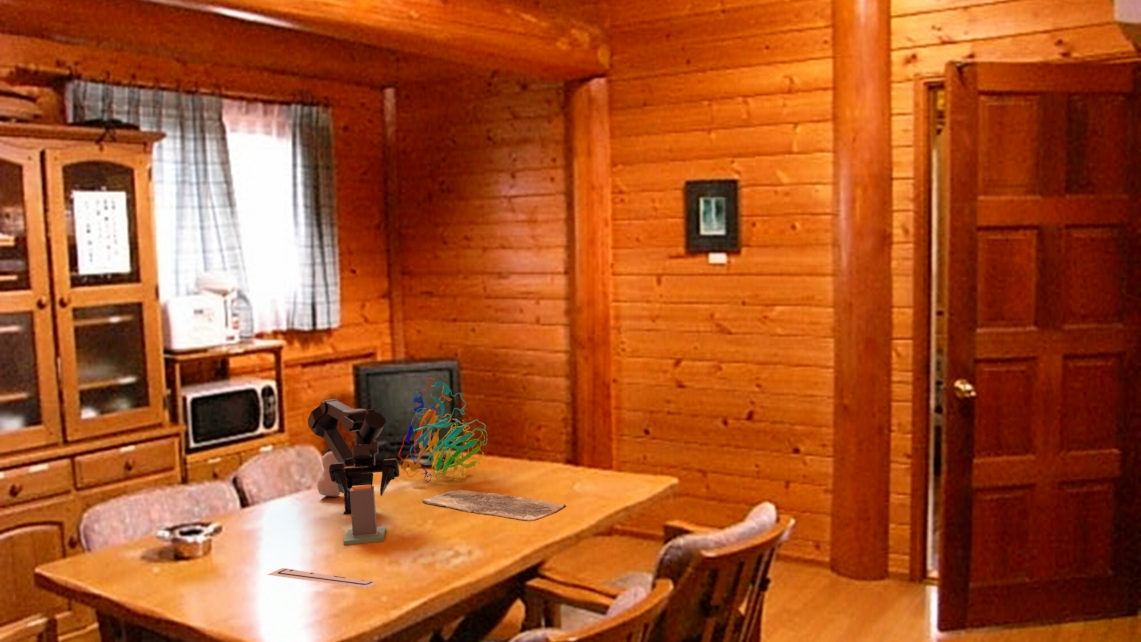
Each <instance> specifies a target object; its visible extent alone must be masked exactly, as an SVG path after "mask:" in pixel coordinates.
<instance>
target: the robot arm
mask: <svg viewBox="0 0 1141 642" xmlns="http://www.w3.org/2000/svg"><path fill="white" fill-rule="evenodd" d="M339 422H341V423H342V428H343V429H344V430H346V432H348V433H350V432H355V433H354V445H352V449H351V448H350V446H349V445H348V443H347V442H346V440H345V439H344V437H343V435H342V433H341V431H339V428H338V425H339ZM385 425H386V418H385V416H383V415H382V413H379V412H376V411H375V408H370V409H366V408H352V407H350V406H349V405H347V404H346V403H345V404H344V403H343V402H340V400H339V399H337V398H333V399H326V400H325V399H324V400H323V401H321V402H320V404H319V406H317V407H316V408H315V409H313V410H312V411H311V412H310V414H309V416H308V417H307V426H308V428H309V429H310V430H311V431H312V432H313V434H314V435H315V436H316V437H317V436H318V437H320V438H322V439H323V440H324V441H325V442H326V444H327V446H328V448H330V449H331V451H332V453H333V454H334V456H335V458H336V459H337V461H338V463H331V465H330V466H329V473H330V477H331V481H333V482H336V483H337V484H338V489H339V492H340V494H343V502H344V511H343V514H345V515H347V514H350V515H351V503H350V489H351V488H352V486H359V485H371V486H373V482H374V481H373V480H374V473H381V481H380V488H379V490H380V491H379V494H380V497H383V494H384V493H385V490H386V489H387V487H388V486H389V483H390V482H391V481H393V480H395V478H398V477H400V465H399V460H398V459H397V458H384V459H383V462H382V463H383V464H376V455H379V442H378V441H376V439H377V438H379V436H380V434H381V433H382V431H383V429H384V427H385Z"/></svg>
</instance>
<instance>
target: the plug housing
mask: <svg viewBox="0 0 1141 642" xmlns="http://www.w3.org/2000/svg"><path fill="white" fill-rule="evenodd" d="M375 496H376V495H375V486H374V485H372V486H371V485H359V486H352V488H351V489H350V503H351V514H350V516H351V526H352V528H351V529H352V530H353V536H358V535H370V534H376V533H377V527H378V524H377V523H378V522H377V512H376V511H377V509H376V498H375Z"/></svg>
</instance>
